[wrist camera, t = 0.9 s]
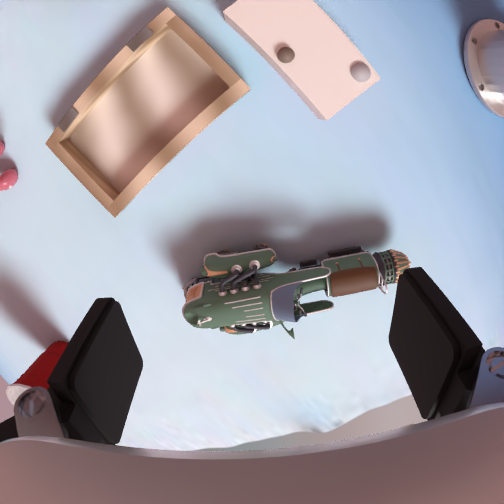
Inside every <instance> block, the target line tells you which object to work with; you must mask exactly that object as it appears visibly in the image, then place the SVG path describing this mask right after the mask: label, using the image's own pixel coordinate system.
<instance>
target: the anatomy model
mask: <svg viewBox="0 0 504 504" xmlns="http://www.w3.org/2000/svg"><path fill="white" fill-rule="evenodd" d="M4 149H5V146H4V144H3V142H1V141H0V156H1V155H2V154H3V152H4ZM17 179H18V173H17V171H16V170H14V169H9V170H6V171H5V172H3V173H2V174H1V175H0V191H2V190H7V189H9V188H11V187H12V186H13V185H14V184H15V183H16V182H17Z"/></svg>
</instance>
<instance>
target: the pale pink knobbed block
mask: <svg viewBox="0 0 504 504" xmlns="http://www.w3.org/2000/svg"><path fill="white" fill-rule="evenodd" d="M223 14H224V18H225V22H226V23H227V24H228V25H230V26H231V27H232V28H233V29H234V30H235V31H236V32H237V33H238V34H239V35H240V36H241V37H242V38H243V39H244V40H245V41H247V42H248V43H249V44H250V45H251V46H252V47H253V48H254V49H255V50H256V51H257V52H258V53H259V54H260V55H261V56H262V57H263V58H264V59H265V60H266V61H267V62H268V64H269V65H270V66H271V67H272V68H273V69H274V70H275V71H276V72H277V73H278V74H279V75H280V76H281V77H282V78H283V79H284V80H285V82H286V83H287V84H288V85H289V86H290V87H291V88H292V89H293V90H294V91H295V93H296V94H297V95H298V96H299V97H300V98H301V99H302V100H303V102H304V103H305V104H306V105H307V106H308V107H309V109H310V110H311V111H312V112H313V113H314V114H315V116H316V117H317V118H318V119H323V120H328V119H329V118H331V117H332V116H333V115H334V114H336V113H337V112H338V111H339V110H341V109H342V108H343V107H345V106H346V105H347V104H348V103H350V102H351V101H352V100H353V99H355V98H356V97H357V96H359V95H360V94H361V93H362V92H364V91H365V90H366V89H368V88H369V87H370V86H372V85H373V84H374V83H375V82H377V81H378V80H379V79H381V78H380V77H379V76H378V74H377V73H376V72H375V70H374V69H373V68H372V66H371V65H370V64H369V63H368V61H367V60H366V59H365V58H364V56H363V55H362V54H361V53H360V51H359V50H358V49H357V48H356V47H355V45H354V44H353V43H352V42H351V41H350V40H349V38H348V37H347V36H346V35H345V34H344V33H343V32H342V30H341V29H340V28H339V27H338V26H337V25H336V24H335V23H334V22H333V21H332V19H331V18H330V17H329V16H328V15H327V14H326V13H325V12H324V11H323V10H322V9H321V8H320V7H319V6H318V5H317V4H316V3H315V2H314V1H313V0H237V1H236V2H235V3H233V4H232V5H231V6H229V7H228V8H227V9H225V10H224V11H223Z"/></svg>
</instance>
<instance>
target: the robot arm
mask: <svg viewBox="0 0 504 504" xmlns="http://www.w3.org/2000/svg"><path fill="white" fill-rule="evenodd" d="M464 63H465V67H466V72H467V75H468V78H469V81H470V84H471V86H472V88H473V90H474V92H475V94H476V95H477V97H478V98H479V100H480V101H481V102H482V104H483V105H484V106H485V107H486V108H487V109H488V110H489V111H491V112H492V113H494V114H495V115H497V116H500V117H504V23H502V22H500V21H498V20H494V19H484V20H480V21H477V22H475V23H474V24H473V25H472V26H471V27H470V28H469V30H468V32H467V34H466V37H465V41H464ZM389 344H390V347H391V349H392V351H393V353H394V355H395V357H396V359H397V362H398V364H399V366H400V368H401V370H402V372H403V375H404V377H405V379H406V381H407V384H408V386H409V388H410V390H411V393H412V395H413V397H414V399H415V402H416V404H417V407H418V409H419V411H420V414H421V416H422V418H423V419H427V420H428V421H426V422H422V423H418V424H414V425H411V426H407V427H403V428H399V429H395V430H391V431H387V432H382V433H377V434H373V435H368V436H364V437H358V438H354V439H347V440H341V441H335V442H329V443H323V444H315V445H307V446H299V447H290V448H279V449H267V450H249V451H213V452H212V451H174V450H157V449H144V448H134V447H125V446H117V445H115V444H117V443H119V442H120V439H121V436H122V432H123V429H124V425H125V422H126V419H127V415H128V412H129V409H130V406H131V402H132V399H133V396H134V393H135V390H136V387H137V383H138V380H139V377H140V374H141V371H142V368H143V360H142V357H141V355H140V352H139V350H138V348H137V345H136V343H135V341H134V338H133V336H132V333H131V331H130V328H129V326H128V323H127V321H126V318H125V316H124V313H123V311H122V308H121V305H120V303H119V302H117V301H115V300H114V298H112V297H111V298H98V299H96V300H95V302H94V303H93V305H92V306H91V308H90V309H89V311H88V312H87V314H86V316H85V317H84V319H83V320H82V322H81V324H80V325H79V327H78V328H77V330H76V332H75V333H74V335H73V337H72V338H71V340H70V342H69V343H68V345H67V347H66V348H65V350H64V352H63V353H62V355H61V357H60V359H59V360H58V362H57V364H56V366H55V367H54V369H53V371H52V373H51V375H50V376H49V378H48V380H47V383H48V384H49V388H48V389H47V390H46V389H45V388H43V387H32V388H29V389H27V390H25V391H24V392H23V393H22V394H21V395H19V397H18V398H17V400H16V401H15V404H14V416H13V417H11V418H9V419H7V420H5V421H4V422H2V423H0V504H504V348H501V347H494V348H491V349H488V350H487V351H486V352H485V350H484V349H483V347H482V343H481V341H480V340H479V339H478V337H477V336H476V334H475V333H474V332H473V330H472V329H471V328H470V326H469V325H468V324H467V322H466V321H465V320H464V319H463V317H462V316H461V315H460V313H459V312H458V311H457V310H456V308H455V307H454V306H453V305H452V303H451V302H450V301H449V300H448V298H447V297H446V296H445V295H444V293H443V292H442V291H441V290H440V289H439V287H438V286H437V285H436V284H435V283H434V281H433V280H432V279H431V278H430V277H429V275H428V274H427V273H426V272H425V271H424V270H423V269H422V268H421V267H416V268H408V269H405V270H404V271H403V274H400V275H399V278H398V284H397V291H396V298H395V304H394V310H393V316H392V322H391V327H390V332H389Z"/></svg>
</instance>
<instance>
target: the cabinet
mask: <svg viewBox="0 0 504 504" xmlns="http://www.w3.org/2000/svg"><path fill="white" fill-rule="evenodd" d="M249 91H250V88H249V87H248V85H247V84H246V83H245V82H244V81H243V80H242V79H241V78H240V77H239V76H238V75H237V74H236V73H235V72H234V71H233V70H232V69H231V67H230V66H229V65H228V64H227V63H226V62H225V61H224V60H223V59H222V58H221V57H220V56H219V55H218V54H217V53H216V52H215V51H214V50H213V49H212V48H211V47H210V46H209V45H208V44H207V43H206V42H205V41H204V40H203V39H202V38H200V37H199V36H198V35H197V34H196V33H195V32H194V31H193V30H192V29H191V28H190V27H189V26H188V25H187V24H186V23H185V22H184V21H182V20H181V19H180V18H179V17H178V16H177V15H176V14H175V13H174V12H173V11H171V10H170V9H169V8H168V7H167V8H166V9H165V10H164V11H162V12H161V13H160V14H159V15H158V16H157V17H155V18H154V19H153V20H152V21H151V22H150V23H149V24H148V25H147V26H145V27H144V28H143V29H142V30H141V31H140V32H139V33H138V34H137V35H136V36H135V37H134V38H132V39H131V40H130V41H129V42H128V43H127V44H126V46H125V47H124V48H123V49H122V50H121V51H120V52H119V53H118V54H117V55H116V56H115V57H114V58H113V59H112V60H111V61H110V62H109V64H108V65H107V66H106V67H105V68H104V69H103V70H102V71H101V72H100V74H99V75H98V76H97V77H96V78H95V79H94V80H93V82H92V83H91V84H90V85H89V86H88V87H87V89H86V90H85V91H84V92H83V94H82V95H81V96H80V97H79V98H78V100H77V101H76V102H75V104H74V105H73V106H72V107H71V108H70V110H69V111H68V112H67V114H66V115H65V116H64V118H63V119H62V120H61V122H60V123H59V124H58V126H57V128H56V129H55V130H54V132H53V133H52V135H51V136H50V138H49V139H48V140H47V142H46V143H45V144H46V145H47V146H48V147H49V148H50V149H51V151H52V152H53V153H54V154H55V155H56V156H57V157H58V158H59V159H60V161H61V162H62V163H63V164H64V165H65V166H66V167H67V168H68V169H69V170H70V171H71V173H72V174H73V175H74V176H75V177H76V178H77V179H78V180H79V181H80V182H81V183H82V184H83V185H84V186H85V188H86V189H87V190H88V191H89V192H90V193H91V194H92V195H93V196H94V197H95V198H96V199H97V200H98V201H99V202H100V203H101V204H102V205H103V206H104V207H105V208H106V209H107V210H108V211H109V212H110V213H111V214H112V215H113V216H114V217H116V216H117V215H118V214H119V213H120V212H121V211H122V210H123V209H124V208H125V207H126V206H127V205H128V204H129V203H130V202H131V201H132V200H133V199H134V198H135V197H136V196H137V195H138V193H139V192H140V191H141V190H142V189H143V188H144V187H145V186H146V185H147V184H148V183H149V182H150V181H151V180H152V179H153V178H154V177H155V176H156V175H157V174H158V173H159V172H160V171H161V170H162V169H163V168H164V167H165V166H166V165H167V164H168V163H169V162H170V161H171V160H172V159H173V158H174V157H175V156H176V155H177V154H178V153H179V152H180V151H182V150H183V149H184V148H185V147H186V146H187V145H188V144H189V143H190V142H191V141H192V140H193V139H194V138H195V137H197V136H198V135H199V134H200V133H201V132H202V131H203V130H204V129H205V128H206V127H208V126H209V125H210V124H211V123H212V122H213V121H214V120H216V119H217V118H218V117H219V116H220V115H221V114H222V113H224V112H225V111H226V110H227V109H228V108H229V107H231V106H232V105H233V104H234V103H235V102H237V101H238V100H239V99H240V98H241V97H243V96H244V95H245V94H246V93H247V92H249Z"/></svg>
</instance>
